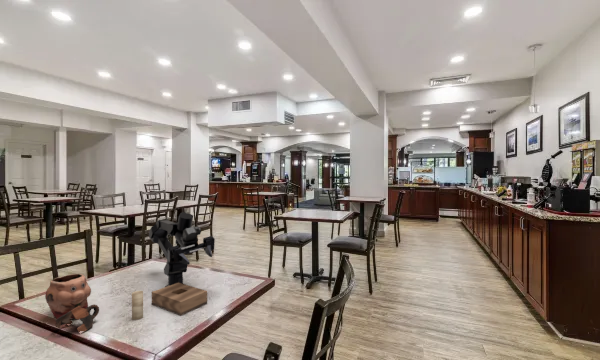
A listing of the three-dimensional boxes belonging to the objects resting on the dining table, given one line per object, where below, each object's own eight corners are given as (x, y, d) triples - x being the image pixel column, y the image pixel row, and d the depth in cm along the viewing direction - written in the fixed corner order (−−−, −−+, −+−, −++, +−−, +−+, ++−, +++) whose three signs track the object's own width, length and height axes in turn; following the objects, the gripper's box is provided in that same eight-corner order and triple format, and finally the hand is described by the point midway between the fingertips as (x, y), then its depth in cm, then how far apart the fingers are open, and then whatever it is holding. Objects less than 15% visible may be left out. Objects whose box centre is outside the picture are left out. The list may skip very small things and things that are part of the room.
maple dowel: (129, 318, 104) (129, 293, 104) (139, 314, 107) (139, 289, 107) (135, 320, 103) (135, 295, 103) (145, 316, 106) (145, 291, 106)
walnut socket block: (151, 304, 116) (151, 291, 116) (178, 294, 126) (178, 282, 126) (180, 315, 106) (180, 301, 106) (207, 303, 117) (207, 291, 117)
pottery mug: (72, 341, 91) (57, 318, 91) (60, 346, 96) (47, 324, 95) (109, 315, 102) (97, 294, 101) (97, 320, 106) (85, 301, 106)
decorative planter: (32, 316, 106) (31, 278, 106) (70, 303, 117) (69, 268, 117) (65, 328, 98) (64, 286, 98) (102, 312, 109) (102, 275, 109)
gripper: (162, 229, 118) (176, 249, 107) (206, 218, 130) (223, 236, 119) (162, 252, 122) (176, 274, 111) (205, 240, 134) (222, 258, 123)
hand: (200, 259), depth 116 cm, fingers open, 9 cm apart
